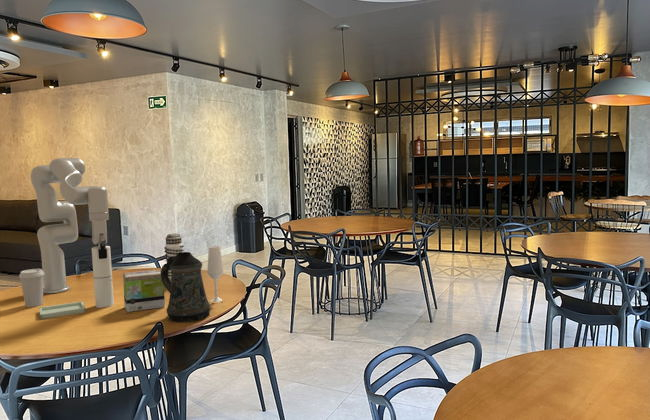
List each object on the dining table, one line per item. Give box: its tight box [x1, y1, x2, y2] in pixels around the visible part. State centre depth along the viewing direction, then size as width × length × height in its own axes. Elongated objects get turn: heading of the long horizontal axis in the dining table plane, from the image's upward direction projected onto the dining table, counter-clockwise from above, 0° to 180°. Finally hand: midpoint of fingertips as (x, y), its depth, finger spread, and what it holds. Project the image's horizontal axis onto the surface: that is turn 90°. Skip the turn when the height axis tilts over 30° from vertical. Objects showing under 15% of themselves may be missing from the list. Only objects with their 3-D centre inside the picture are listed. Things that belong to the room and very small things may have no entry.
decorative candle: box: [164, 233, 185, 281], centre depth 247 cm, size 9×9×25 cm
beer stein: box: [160, 251, 211, 323], centre depth 194 cm, size 16×19×25 cm
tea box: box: [122, 269, 166, 313], centre depth 208 cm, size 15×10×15 cm, turn 117°
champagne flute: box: [206, 245, 224, 302], centre depth 214 cm, size 7×7×24 cm
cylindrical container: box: [91, 245, 115, 309], centre depth 212 cm, size 7×7×25 cm
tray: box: [39, 300, 86, 320], centre depth 204 cm, size 12×16×2 cm
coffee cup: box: [18, 268, 44, 308], centre depth 215 cm, size 10×10×15 cm
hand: (101, 256), depth 211 cm, fingers open, 9 cm apart
